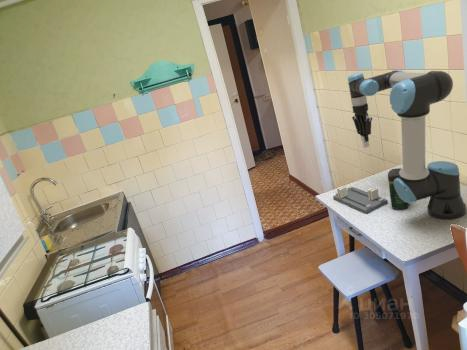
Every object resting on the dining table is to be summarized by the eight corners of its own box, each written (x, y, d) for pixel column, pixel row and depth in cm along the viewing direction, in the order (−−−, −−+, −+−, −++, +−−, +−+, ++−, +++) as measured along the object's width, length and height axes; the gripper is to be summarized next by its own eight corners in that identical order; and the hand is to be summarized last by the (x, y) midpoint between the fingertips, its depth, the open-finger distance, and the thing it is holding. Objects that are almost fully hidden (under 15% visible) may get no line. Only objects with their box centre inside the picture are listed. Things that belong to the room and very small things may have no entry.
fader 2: (379, 197, 192) (377, 188, 190) (372, 200, 191) (371, 191, 189) (374, 195, 194) (373, 187, 193) (368, 198, 193) (367, 189, 192)
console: (388, 203, 189) (387, 197, 187) (366, 214, 185) (365, 208, 184) (353, 190, 212) (352, 185, 211) (333, 199, 208) (332, 194, 207)
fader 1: (347, 195, 203) (346, 187, 201) (341, 198, 202) (340, 189, 200) (344, 193, 206) (342, 185, 204) (338, 196, 204) (336, 188, 203)
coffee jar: (409, 209, 178) (405, 174, 172) (391, 210, 181) (386, 175, 175) (408, 200, 186) (404, 166, 180) (391, 201, 189) (387, 167, 183)
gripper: (374, 102, 188) (380, 146, 196) (357, 101, 200) (363, 142, 208) (362, 107, 186) (369, 151, 194) (345, 105, 198) (352, 147, 206)
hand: (366, 146), depth 201 cm, fingers closed
